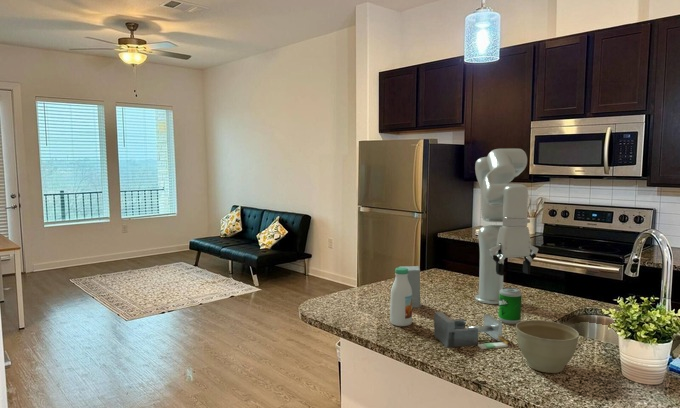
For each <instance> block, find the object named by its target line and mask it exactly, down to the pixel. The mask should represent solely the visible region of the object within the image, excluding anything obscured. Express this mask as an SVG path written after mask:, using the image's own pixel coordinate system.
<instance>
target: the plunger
mask: <svg viewBox="0 0 680 408" xmlns="http://www.w3.org/2000/svg"><path fill="white" fill-rule="evenodd" d="M483 316H484V317H483V325H478V326H477V325H475V326H468V327H467V328H477V329H478V333H486V334H487V335H488V336H490V337H492V338H493V340H495V341H497V342H505V343H506V344H507V345H509V341H508V340H506V339H504V337H503V322H501V320H499V319H496V318H495V317H493V316H492V315H491V314H489V313H484V315H483Z"/></svg>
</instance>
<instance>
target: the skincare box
mask: <svg viewBox="0 0 680 408" xmlns="http://www.w3.org/2000/svg"><path fill="white" fill-rule="evenodd" d="M399 267H403V268H407V269H408V275H407V277H408V281H409V284H410V286H411V289H412V309H415V308H416V309H417V308H419V309H420V308H421V269H420V266H419V265H415V266H414V265H412V266H409V265H408V266H407V265H406V266H398V268H399Z"/></svg>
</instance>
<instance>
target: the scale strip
mask: <svg viewBox="0 0 680 408" xmlns="http://www.w3.org/2000/svg"><path fill="white" fill-rule="evenodd" d="M507 347H509V344H506V343H505V342H503V341H497V342H487V343H478V345H477V348H479V349H481V350H487V349H499V348H507Z"/></svg>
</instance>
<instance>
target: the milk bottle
mask: <svg viewBox="0 0 680 408" xmlns="http://www.w3.org/2000/svg"><path fill="white" fill-rule="evenodd" d="M394 272H395V273H394V275H395V279H394V281H393V284H392V286H391V288H390V289H391V290H390V301H389V302H390V304H389V305H390V309H389V310H390V311H389V312H390V315H389V319H390V320H389V321H390V323H391V324H392V325H393V326H397V327H406V326H411V324H412V323H413V308H412V289H411V286H410V284H409V281H408V277H407V275H408V269H407V268H403V267H399V266H398V267H396V268H395V270H394Z"/></svg>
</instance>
